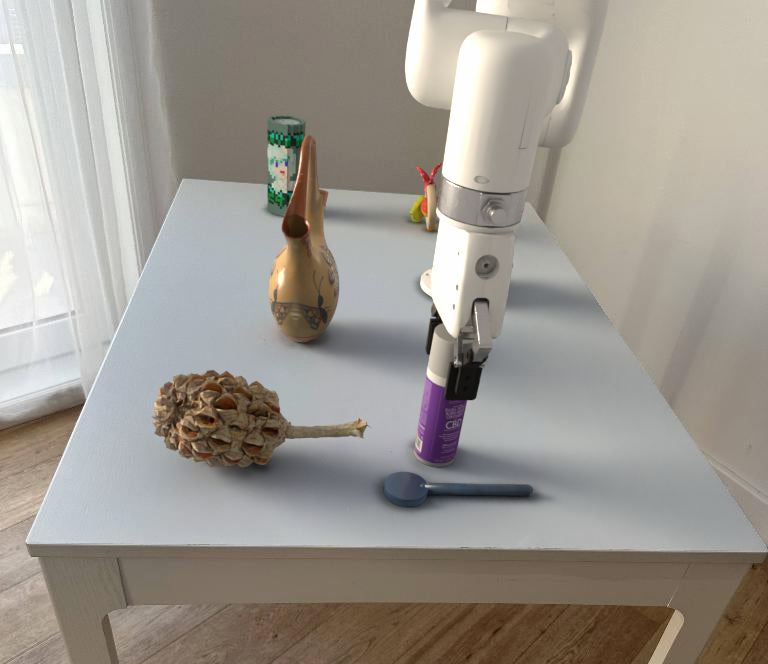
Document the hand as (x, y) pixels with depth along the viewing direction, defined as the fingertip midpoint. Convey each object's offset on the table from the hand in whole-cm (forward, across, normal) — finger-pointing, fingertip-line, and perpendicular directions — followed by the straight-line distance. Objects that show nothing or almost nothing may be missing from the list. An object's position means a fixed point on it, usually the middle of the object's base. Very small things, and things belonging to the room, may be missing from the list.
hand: (449, 374), depth 75 cm
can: (+10, +74, +12) cm, 76 cm away
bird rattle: (+10, +69, -14) cm, 72 cm away
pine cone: (+10, 0, +19) cm, 22 cm away
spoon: (+10, -7, 0) cm, 12 cm away
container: (+10, 0, 0) cm, 10 cm away
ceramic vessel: (+10, +27, +12) cm, 32 cm away
